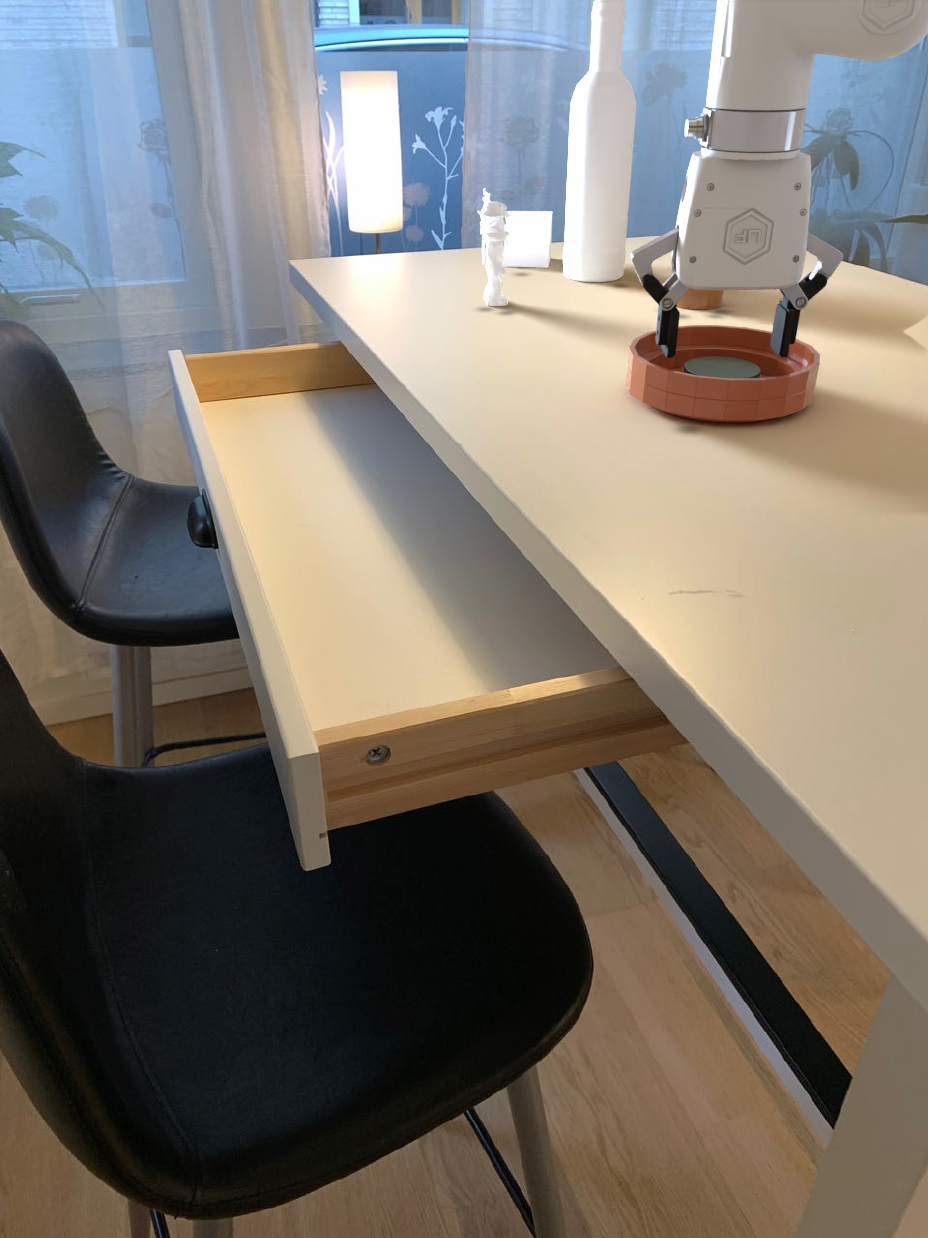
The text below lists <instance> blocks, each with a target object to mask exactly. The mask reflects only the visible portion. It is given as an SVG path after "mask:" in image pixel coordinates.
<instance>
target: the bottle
mask: <svg viewBox="0 0 928 1238" xmlns="http://www.w3.org/2000/svg"><path fill="white" fill-rule="evenodd" d="M592 4H593V5H592V11H591V14H590V15H591V16H590V18H591V40H590V56H589V58H590V59H589V60H590V61H589V70H588V71H587V73H586V74H585V75H584V76H583V77H582V79H580V81H579V82H578V83H577V84H576V87H575V90H574V91H573V95H572V98H571V101H570V107H569V109H570V110H569V129H568V130H569V131H568V154H567V174H566V175H567V177H566V196H565V197H566V198H565V199H566V200H565V218H564V219H565V221H564V222H565V224H564V242H563V243H564V245H563V251H562V265H563V267H562V275H563V276H564V277H565V278H566V279H569V280H571V281H572V280H573V281H576V282H585V283H606V282H613V281H617V280H619V279H621V278H622V277H624V271H625V265H626V258H627V251H626V245H627V234H628V233H627V232H628V219H629V205H630V195H631V182H632V181H631V180H632V169H633V166H632V165H633V156H634V155H633V153H634V141H635V129H636V128H635V126H636V115H637V113H636V112H637V101H636V96H635V92H634V87H633V84H632V83H631V82H630V81H629V79H628V78H627V77H626V75H625V74H624V73H623V72H622V59H623V45H624V44H623V43H624V29H625V20H626V17H627V12H626V1H625V0H594V1H593V3H592Z"/></svg>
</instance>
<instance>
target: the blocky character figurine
mask: <svg viewBox="0 0 928 1238" xmlns="http://www.w3.org/2000/svg"><path fill="white" fill-rule="evenodd" d="M482 191H483V195H484V196H482V202H484V203H483V207H482V208H481V211H480V210H477V213H478V214H479V216H480V220H481V221H480V222H479V224H480V235H482V237H481V239H482V240H481V256H482V265H485V269H486V272H487V277H488V283H487V285H486V287H485V289H484V292H483V294H484V295H483V300H484V301H485V305H486V306H488V307H504V306H507V305H508V299H507V298H506V296H505V293H502V292H503V285H504V284H503V278H506V276H507V275H506V274H507V273H506V270H505V269H506V267H505V266H504V264H503V263H504V239H506V243H507V245H508V241H507V238H506V235H510V234H509V233H508V232H507V231H505V230H504V225H505V224H506V217H510V216H512V214H510V213H507V212H508V207H507V205H506V204H504V203H502V202H499V201H498V200H494V201H492V199H491V197H492V194H491V193H489V192H488V191H486V188H483V190H482ZM485 249H486V250H485ZM485 257H486V261H485Z"/></svg>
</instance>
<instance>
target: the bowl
mask: <svg viewBox="0 0 928 1238" xmlns="http://www.w3.org/2000/svg"><path fill="white" fill-rule="evenodd" d="M771 337H772V330H764V329H760V328H759V329H758V328H752V327H746V326H735V325H734V326H733V325H723V324H719V325H718V324H703V325H702V324H695V325H693V324H691V325H682V326H681V325H679V326H678V335H677V345H676V354H675V356H673V358H666V356H665V354H664V353H663V351H662V349H661V345H657V344H656V330H652V331H648V332H644V334H641V335H640V336H637V337H635V338H634V339H633V340H632V342H631V343H630V345H629V346H628V353H627V355H628V356H627V369H626V380H625V385H626V388H627V390H628V392H629V394H630V395H631V396H632V397H634V398H635V399H637V400H639V401H640V402H641V403H643V404H644V405H648V406H651V407H653V408H655V409H657V410H659V411H661V412H664V413H667V414H670V415H673V416H676V417H681V418H686V419H690V420H696V421H703V422H712V423H732V424H733V423H734V424H735V423H737V424H738V423H754V422H755V423H756V422H761V421H768V420H773V419H777V418H783V417H786V416H789V415H792V414H795V413H798V412H802V410H804V409H805V408H806V407H808V406H809V405H810V404H811V403H813V400H814V395H815V389H816V385H817V379H818V373H819V370H820V369H819V368H820V364H821V363H820V362H821V354H820V353H819V351H817V350H816V349H815V348H814V347H813V346H812V345H811V344H808V343H806V342H804V341H802V340H800V339H798V338H796V340H795V343H794V344H790V346H789V352H788V356H787V357H780V356H779V355H777V353H776V352H775V351H774V350H773V349H772V348H771V346H770V343H771ZM710 356H721V357H732V358H738V359H743V360H746V361H749V362H752V363H754V364H756V365H757V366H759V368H760V370H761V372H760V378H732V379H729V378H718V377H707V376H698V375H693V374H688V373H684V365H685V363H686V362H687V361H689V360H692V359H695V358H700V357H710Z"/></svg>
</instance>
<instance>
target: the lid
mask: <svg viewBox="0 0 928 1238" xmlns="http://www.w3.org/2000/svg"><path fill="white" fill-rule="evenodd" d="M760 372H761V370H760V368H759V366H757V365H756V364H754V363H752V362H749V361H746V360H743V359H738V358H732V357H721V356H710V357H700V358H695V359H692V360H689V361H687V362H686V363H685V365H684V373H688V374H693V375H698V376H707V377H718V378H729V379H732V378H760Z"/></svg>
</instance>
